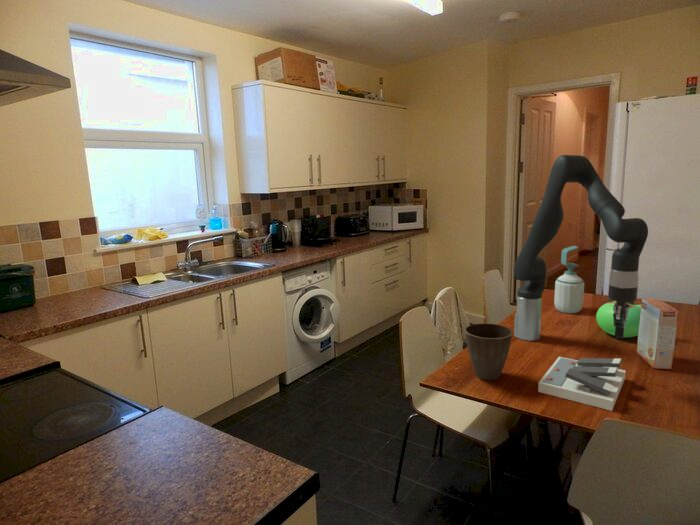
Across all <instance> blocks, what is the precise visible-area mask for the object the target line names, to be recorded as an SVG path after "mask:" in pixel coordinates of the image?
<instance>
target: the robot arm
mask: <svg viewBox="0 0 700 525" xmlns="http://www.w3.org/2000/svg"><path fill="white" fill-rule="evenodd" d="M567 183H578V184H579V185H581V186H582V187H583V188H584V189H586V192H587V202H588V204H589V207H590V208H591V210H592V211H593V212H594V213H595V215H597V217H598V218H599V219H600V220H601V222H602V225H603V228H604V230H605V233H606V234H607V237H608V238H609V239H610V240H611V241H613V242H615V243H621V244H622V243H624V244H623V245H622V247H621V248H619V249H615V250H614V251H613V252H612V256H611V267H610V273H609V280H608V293H607V294H608V299H609V298H610V299H612V300H615V301H616V303H615V305H614V306H613V311H614V314H613V319H614V326H615V336H614V338H615V339H620V340H622V339H624V338H625V337H624V327H625V325H626V324H625V323H626V322H627V318H628V310H629V309H630V305H627V303H628V302H632V301H634V302H635V301H636V300H637V299H638V288H639V286H638V285H639V264H640V257H641V254H642V252H643V250H644V247H645V243H646V242H647V239H648V236H649V227H648V224H647V222H646V221H645V220H644V219H642V218H640V217H633V218H623V217H624V215H625V212H626V209H625V206H623V205H622V203H621V202H620V201H619V200H618V199H617V198H616V197H615V196H614V195H613V194H612V193H611V191H610V190H609V189H608V188H607V186H606V185H605V184H604V182H603V180H602V179H601V177H600V175H599V174H598V172H597V171H596V169H595V167H594V165H593V163H591V161H590V160H589V159H588V158H587V157H586V156H585V155H584V156H583V155H579V154H577V155H576V154H573V155H572V154H562V155H559V156H558V157H557V158H556V159H555V160H554V161H553V163H552V167H551V169H550V173H549V177H548V180H547V184H546V187H545V191H544V194H543V197H542V199H541V202H540V205H539V207H538V210H537V212H536V215H535V217H534V220H533V222H532V225H531V228H530V231H529V233H528V235H527V238H526V240H525V243H524V244H523V247H522V249H521V250H520V252H519V254H518V256H517V258H516V260H515V262H514V264H513V274H514V277H515V279H517V280H518V281H521V282H525V283H524V284H522V285H521V286H520V287H519V288H518V289H517V295H516V296H517V297H516V313H515V314H514V326H513V327H514V328H513V337H514V338H517V339H520V340H523V341H529V342H531V341H538V340H540V339H541V323H542V320H541V319H542V303H543V300H542V299H543V293H544V291H545V286H546V278H547V266H546V265H547V264H546V263H545V260H544V259H543V258H542V257H541V256H539V254H540V253H541V251H543V250H544V248H545V247H546V246H547V245H548V244H549V243H551V241H552V240H554V239H555V237H556V236H557V234H558V232H559V231H560V228H561V225H562V222H563V221H564V214H565V213H564V208H563V205H562V204H563V203H562V193H563V192H564V188H565V187H566V184H567Z"/></svg>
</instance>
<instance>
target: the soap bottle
mask: <svg viewBox="0 0 700 525" xmlns="http://www.w3.org/2000/svg"><path fill="white" fill-rule="evenodd" d="M578 249H579V246H577V245H572V246H568V247H565V248H563V249H561V253H560V254H561V257H560V262H561V264H562V265H563V266H566V269H567V270H565V271H564V273H563V274H562V275H560V276H559V277H557V278H556V280H555V282H554V299H553V300H554V302H553V304H554V307H555V309H556V310H558V312H561V313H564V314H577V313H579V312H581V310H582V308H583V307H584V306H583V305H584V294H585V281H584V279H583V278H581V277H580V276H578V275H577V271H574V269H575V268H576V267H577V268H578V267H579V266H580V265H579V264H577V263H573V262H572V263H570V262H569V263H568V256H569V255H568V254H569V253H570V252H572V251H575V250H578Z"/></svg>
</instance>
